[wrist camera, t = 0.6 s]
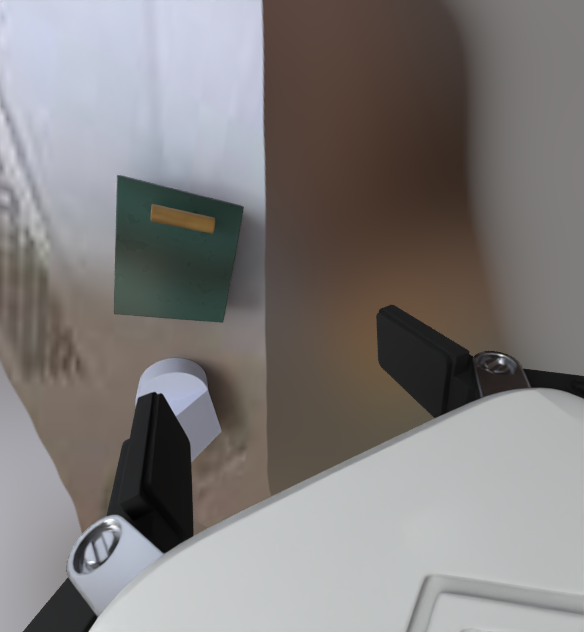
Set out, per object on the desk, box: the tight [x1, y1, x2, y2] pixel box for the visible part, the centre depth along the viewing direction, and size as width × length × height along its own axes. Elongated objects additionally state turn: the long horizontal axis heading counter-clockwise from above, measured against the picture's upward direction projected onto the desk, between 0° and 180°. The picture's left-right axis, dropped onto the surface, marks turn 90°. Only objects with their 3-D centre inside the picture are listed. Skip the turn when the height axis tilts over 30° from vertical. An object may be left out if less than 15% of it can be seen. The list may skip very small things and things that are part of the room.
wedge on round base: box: [136, 358, 222, 461], centre depth 39 cm, size 9×7×13 cm
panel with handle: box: [114, 175, 244, 322], centre depth 27 cm, size 13×11×6 cm
